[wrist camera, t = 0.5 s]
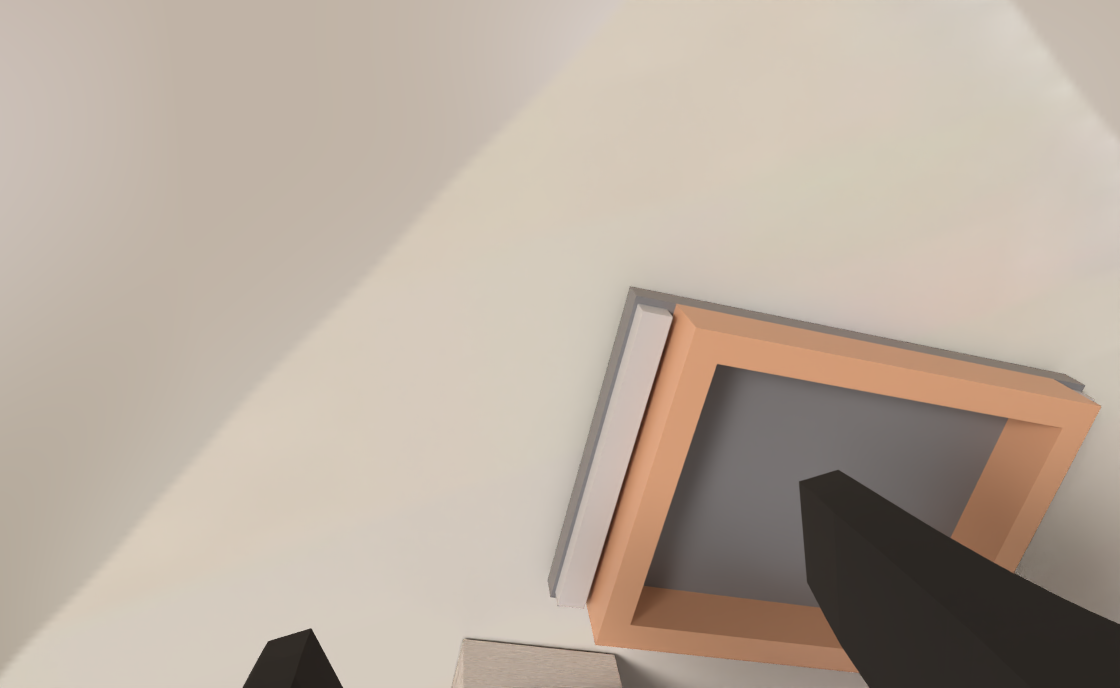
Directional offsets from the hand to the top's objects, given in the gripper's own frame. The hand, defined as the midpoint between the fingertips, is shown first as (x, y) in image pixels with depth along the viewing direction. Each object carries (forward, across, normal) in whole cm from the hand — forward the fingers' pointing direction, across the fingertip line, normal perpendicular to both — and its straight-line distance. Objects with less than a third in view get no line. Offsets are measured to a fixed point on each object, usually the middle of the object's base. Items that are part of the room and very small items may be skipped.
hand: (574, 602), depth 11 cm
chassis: (+9, -8, +8) cm, 14 cm away
